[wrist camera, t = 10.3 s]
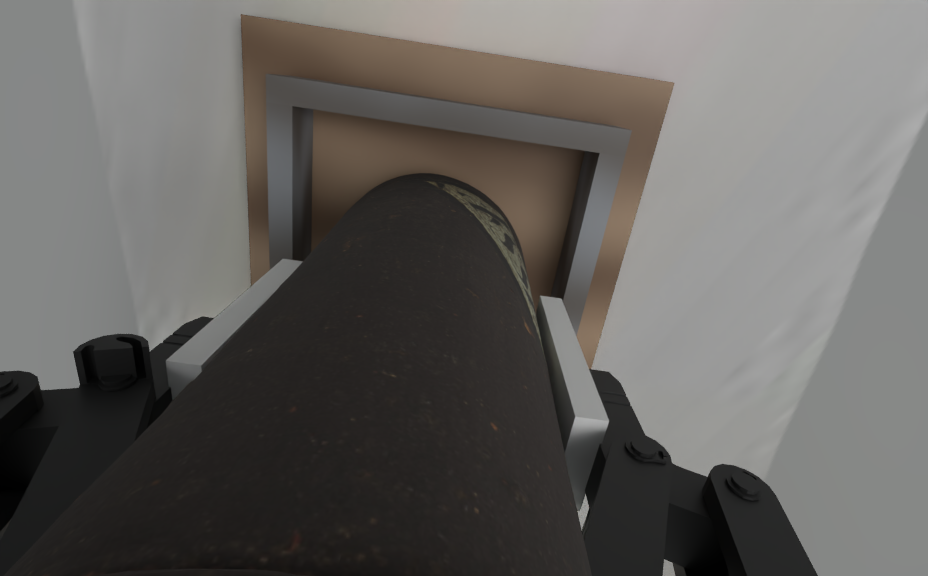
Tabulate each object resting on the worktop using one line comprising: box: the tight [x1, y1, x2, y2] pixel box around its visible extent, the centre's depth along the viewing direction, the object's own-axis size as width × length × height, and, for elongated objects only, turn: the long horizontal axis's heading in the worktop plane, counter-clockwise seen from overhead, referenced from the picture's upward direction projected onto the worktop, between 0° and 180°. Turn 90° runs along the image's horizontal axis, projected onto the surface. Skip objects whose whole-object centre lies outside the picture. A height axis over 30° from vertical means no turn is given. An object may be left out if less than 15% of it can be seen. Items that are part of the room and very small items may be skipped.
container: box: [4, 173, 592, 576], centre depth 12 cm, size 9×9×20 cm
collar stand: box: [241, 14, 674, 369], centre depth 22 cm, size 18×18×4 cm
